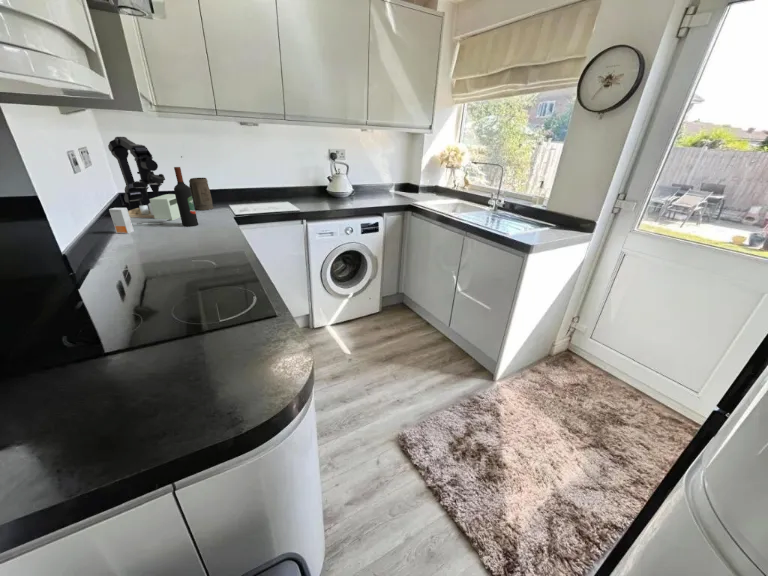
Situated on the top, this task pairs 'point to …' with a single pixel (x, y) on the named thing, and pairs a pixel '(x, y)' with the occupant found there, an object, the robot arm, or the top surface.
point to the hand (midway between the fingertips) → (152, 198)
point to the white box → (150, 209)
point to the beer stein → (201, 193)
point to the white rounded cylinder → (144, 210)
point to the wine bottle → (184, 201)
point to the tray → (139, 214)
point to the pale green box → (165, 207)
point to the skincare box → (121, 220)
